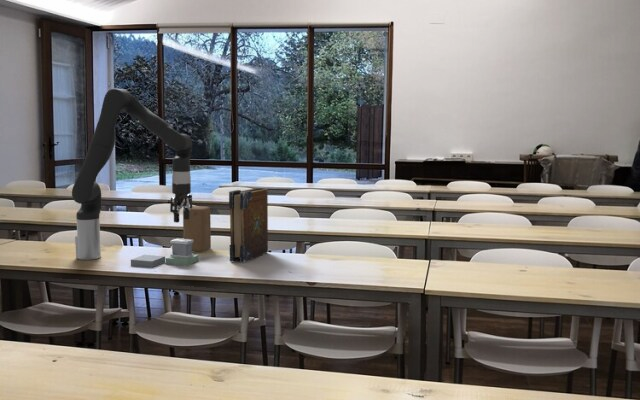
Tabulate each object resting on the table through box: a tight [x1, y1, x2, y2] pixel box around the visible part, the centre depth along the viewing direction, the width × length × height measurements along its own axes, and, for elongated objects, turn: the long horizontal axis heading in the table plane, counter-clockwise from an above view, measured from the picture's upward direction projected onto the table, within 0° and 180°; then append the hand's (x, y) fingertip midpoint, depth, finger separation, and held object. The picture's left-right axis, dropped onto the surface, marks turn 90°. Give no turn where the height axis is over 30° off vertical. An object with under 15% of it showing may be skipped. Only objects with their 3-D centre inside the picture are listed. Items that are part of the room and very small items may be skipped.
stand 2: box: [165, 254, 200, 267], centre depth 253 cm, size 10×10×2 cm
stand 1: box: [130, 254, 166, 268], centre depth 250 cm, size 10×10×2 cm
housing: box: [170, 238, 195, 258], centre depth 253 cm, size 8×5×7 cm, turn 74°
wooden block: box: [182, 205, 212, 253], centre depth 278 cm, size 10×10×20 cm
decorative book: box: [228, 187, 269, 264], centre depth 263 cm, size 23×7×30 cm, turn 157°
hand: (181, 220), depth 251 cm, fingers open, 8 cm apart
